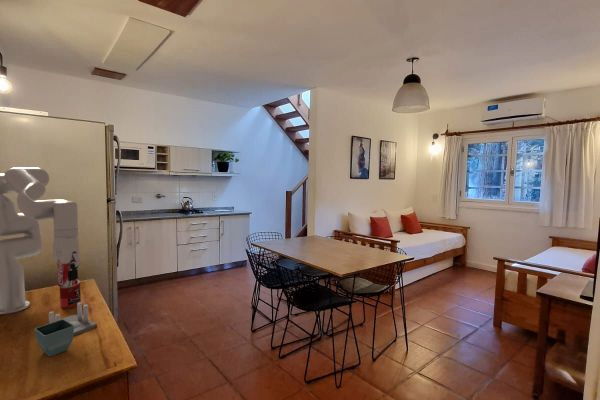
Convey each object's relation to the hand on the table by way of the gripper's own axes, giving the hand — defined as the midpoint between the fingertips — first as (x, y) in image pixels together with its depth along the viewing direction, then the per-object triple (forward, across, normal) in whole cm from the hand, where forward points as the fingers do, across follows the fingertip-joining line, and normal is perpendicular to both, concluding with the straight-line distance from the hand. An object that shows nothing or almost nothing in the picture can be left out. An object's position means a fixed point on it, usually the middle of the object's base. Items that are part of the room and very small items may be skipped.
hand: (68, 278), depth 124 cm
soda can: (+3, 0, 0) cm, 3 cm away
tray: (+21, -1, 0) cm, 21 cm away
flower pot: (+21, +13, -11) cm, 27 cm away
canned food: (+21, -23, +12) cm, 33 cm away
